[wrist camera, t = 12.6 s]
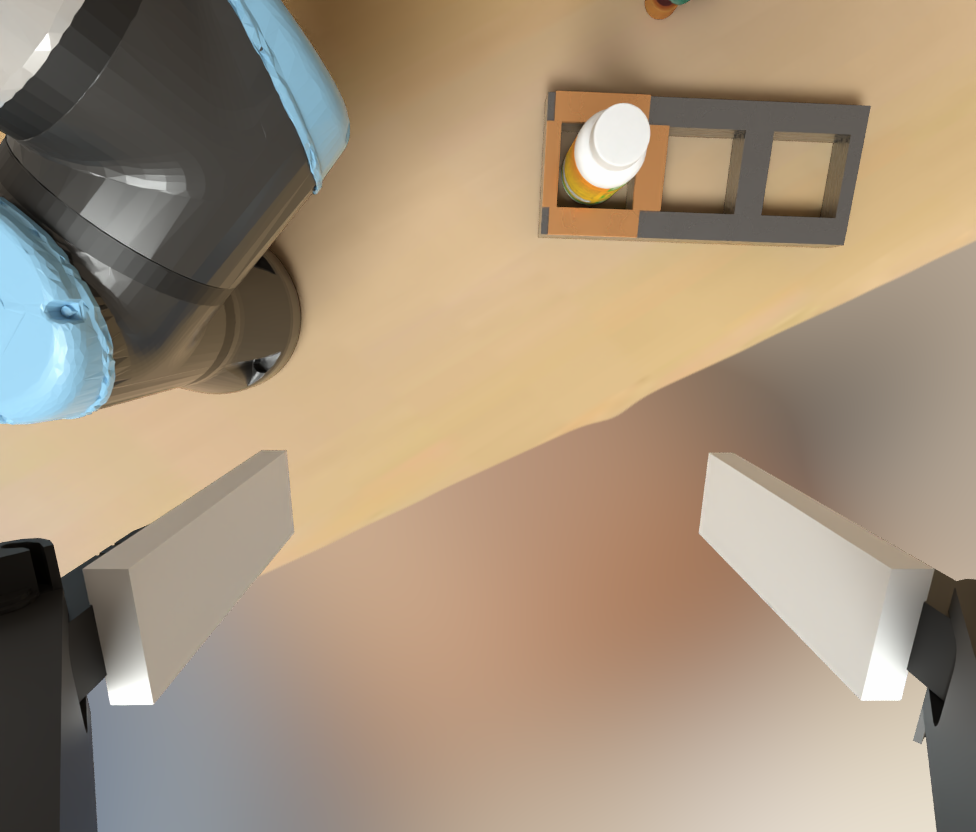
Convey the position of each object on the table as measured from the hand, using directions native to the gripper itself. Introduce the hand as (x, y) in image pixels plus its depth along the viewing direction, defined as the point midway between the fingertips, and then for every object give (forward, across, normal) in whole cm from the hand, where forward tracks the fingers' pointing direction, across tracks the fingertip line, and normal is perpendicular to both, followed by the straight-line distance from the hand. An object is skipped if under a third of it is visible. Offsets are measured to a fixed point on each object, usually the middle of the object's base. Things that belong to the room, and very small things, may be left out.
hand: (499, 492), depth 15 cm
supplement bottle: (+32, +9, +17) cm, 37 cm away
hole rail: (+32, +18, +17) cm, 40 cm away
